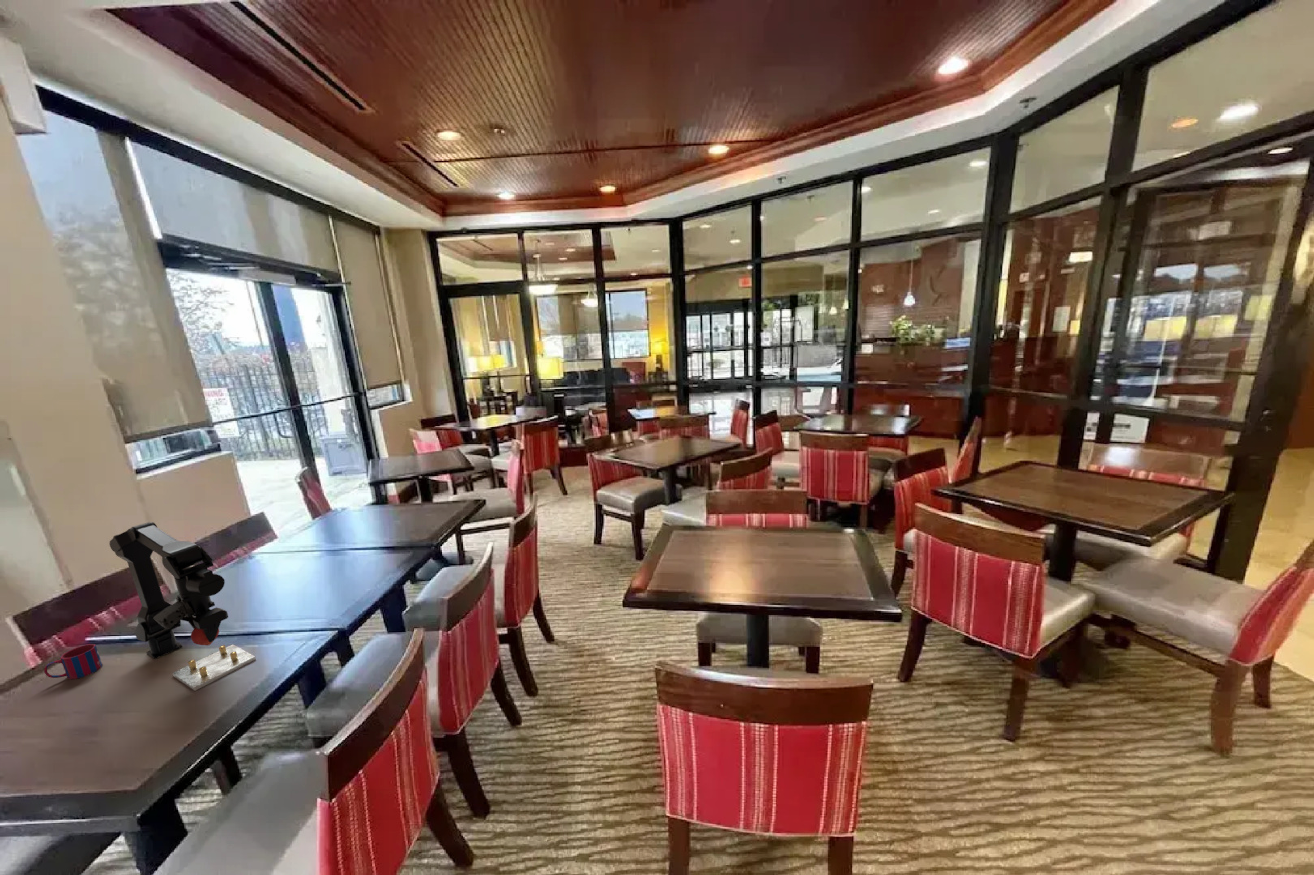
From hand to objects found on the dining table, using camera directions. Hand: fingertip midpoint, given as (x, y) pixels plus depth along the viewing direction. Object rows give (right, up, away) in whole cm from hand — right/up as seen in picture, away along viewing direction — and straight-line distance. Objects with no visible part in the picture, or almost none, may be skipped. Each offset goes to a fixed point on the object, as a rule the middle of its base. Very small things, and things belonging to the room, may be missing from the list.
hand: (206, 638), depth 137 cm
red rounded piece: (0, -2, 0) cm, 2 cm away
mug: (-40, -12, +2) cm, 42 cm away
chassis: (+1, -9, +2) cm, 10 cm away
